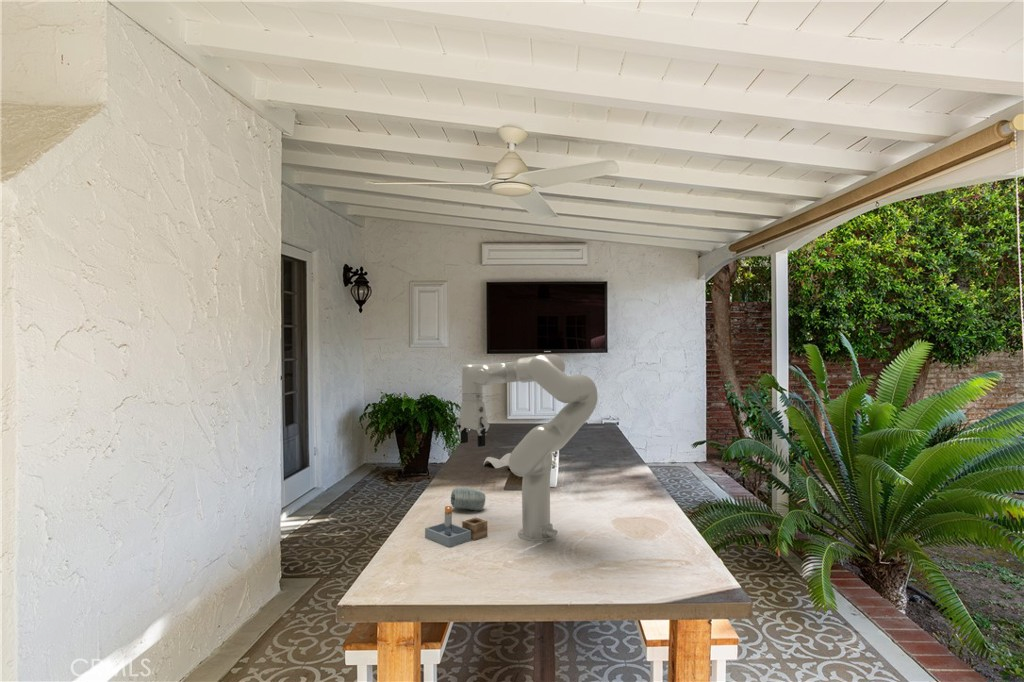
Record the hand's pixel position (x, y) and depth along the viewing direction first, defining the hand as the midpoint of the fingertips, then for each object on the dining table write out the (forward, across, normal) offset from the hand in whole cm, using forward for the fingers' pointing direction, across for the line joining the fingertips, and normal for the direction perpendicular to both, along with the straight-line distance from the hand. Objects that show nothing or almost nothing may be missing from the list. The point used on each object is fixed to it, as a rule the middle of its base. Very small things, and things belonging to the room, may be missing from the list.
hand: (472, 444), depth 206 cm
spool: (+28, +13, -6) cm, 32 cm away
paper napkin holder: (+29, +49, -66) cm, 87 cm away
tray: (+28, -8, +18) cm, 34 cm away
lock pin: (+28, -8, +18) cm, 34 cm away
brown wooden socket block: (+28, -12, +10) cm, 32 cm away
